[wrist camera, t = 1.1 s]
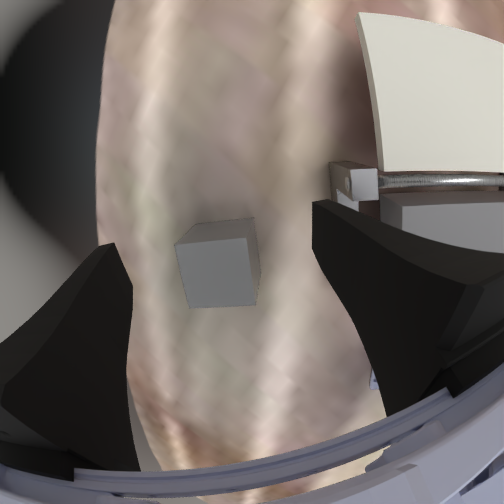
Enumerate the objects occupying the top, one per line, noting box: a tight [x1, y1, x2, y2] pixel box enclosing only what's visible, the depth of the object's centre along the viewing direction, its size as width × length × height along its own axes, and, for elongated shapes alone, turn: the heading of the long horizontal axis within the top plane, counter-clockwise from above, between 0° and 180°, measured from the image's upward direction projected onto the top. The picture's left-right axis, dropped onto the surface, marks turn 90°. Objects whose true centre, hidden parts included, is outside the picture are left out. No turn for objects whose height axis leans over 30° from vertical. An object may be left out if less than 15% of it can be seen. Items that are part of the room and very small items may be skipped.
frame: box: [329, 161, 504, 212], centre depth 17 cm, size 9×18×7 cm, turn 98°
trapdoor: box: [355, 12, 504, 253], centre depth 14 cm, size 15×14×4 cm
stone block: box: [174, 218, 261, 308], centre depth 20 cm, size 4×4×5 cm
